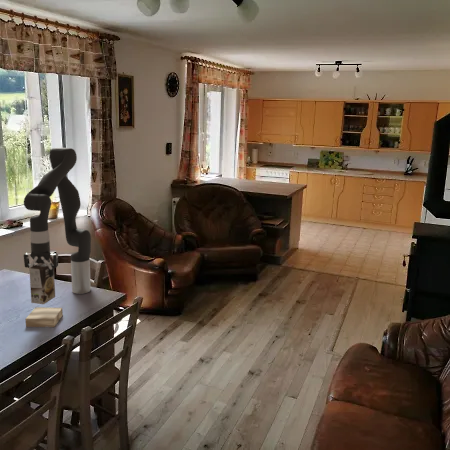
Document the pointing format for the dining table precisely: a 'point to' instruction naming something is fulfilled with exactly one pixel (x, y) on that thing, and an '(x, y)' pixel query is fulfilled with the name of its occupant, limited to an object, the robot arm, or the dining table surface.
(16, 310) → the dining table surface
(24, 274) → the dining table surface
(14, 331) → the dining table surface
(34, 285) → the coffee box
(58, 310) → the birch block
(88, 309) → the dining table surface
